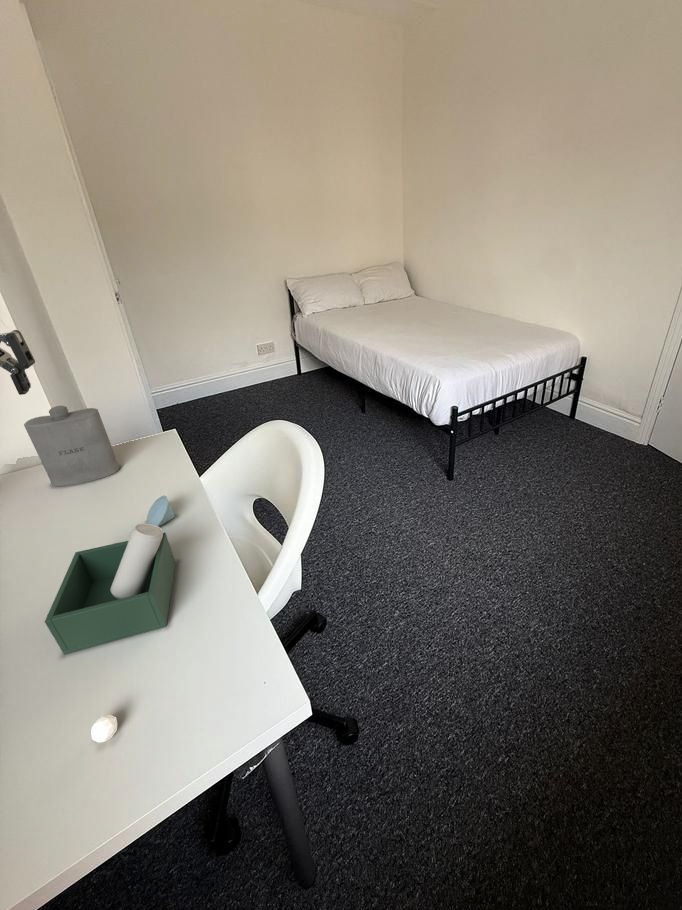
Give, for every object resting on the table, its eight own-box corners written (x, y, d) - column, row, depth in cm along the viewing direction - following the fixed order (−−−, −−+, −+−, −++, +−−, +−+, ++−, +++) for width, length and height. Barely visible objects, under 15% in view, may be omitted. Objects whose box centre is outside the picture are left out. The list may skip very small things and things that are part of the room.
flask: (49, 490, 103) (14, 419, 93) (55, 478, 107) (22, 409, 98) (118, 475, 108) (92, 406, 99) (120, 464, 113) (95, 397, 104)
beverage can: (102, 591, 70) (127, 525, 70) (127, 582, 75) (150, 521, 75) (122, 604, 69) (148, 538, 69) (146, 595, 74) (170, 533, 73)
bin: (64, 655, 65) (44, 622, 61) (90, 583, 77) (75, 552, 73) (166, 626, 69) (153, 594, 65) (175, 562, 81) (165, 532, 77)
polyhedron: (125, 721, 56) (118, 708, 55) (113, 747, 53) (105, 734, 52) (103, 722, 56) (95, 710, 55) (90, 748, 53) (82, 736, 52)
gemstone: (183, 493, 95) (161, 487, 92) (186, 516, 90) (164, 510, 86) (163, 517, 96) (142, 512, 93) (166, 541, 91) (143, 536, 87)
